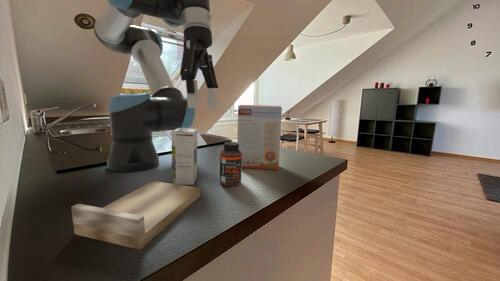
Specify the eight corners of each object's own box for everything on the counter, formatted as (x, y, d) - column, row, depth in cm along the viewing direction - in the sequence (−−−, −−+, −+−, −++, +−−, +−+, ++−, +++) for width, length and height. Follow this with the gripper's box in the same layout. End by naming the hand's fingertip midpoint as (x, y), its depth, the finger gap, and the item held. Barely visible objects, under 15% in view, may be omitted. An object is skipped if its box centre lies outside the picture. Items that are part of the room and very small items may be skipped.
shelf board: (74, 234, 38) (71, 206, 37) (153, 188, 57) (152, 169, 56) (140, 249, 35) (138, 220, 34) (200, 195, 54) (200, 176, 53)
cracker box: (278, 165, 80) (281, 105, 76) (278, 170, 74) (282, 106, 70) (239, 162, 81) (240, 104, 77) (236, 168, 75) (237, 104, 71)
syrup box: (177, 177, 65) (175, 127, 62) (198, 177, 65) (197, 128, 62) (172, 185, 59) (170, 130, 56) (194, 185, 60) (194, 131, 57)
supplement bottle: (224, 188, 58) (224, 146, 56) (216, 180, 63) (216, 141, 61) (244, 185, 61) (246, 144, 59) (235, 177, 66) (236, 140, 64)
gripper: (190, 5, 48) (198, 104, 50) (224, 43, 73) (229, 109, 74) (158, 10, 50) (167, 107, 51) (202, 46, 74) (207, 111, 76)
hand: (204, 108), depth 63 cm, fingers open, 13 cm apart
